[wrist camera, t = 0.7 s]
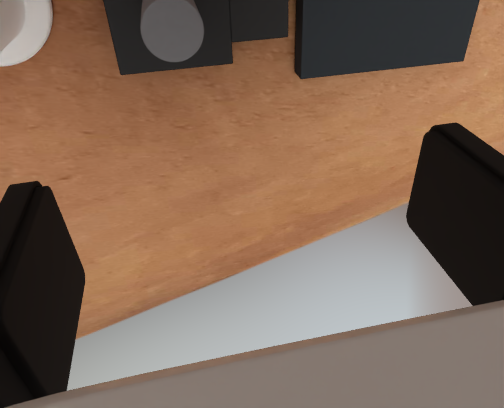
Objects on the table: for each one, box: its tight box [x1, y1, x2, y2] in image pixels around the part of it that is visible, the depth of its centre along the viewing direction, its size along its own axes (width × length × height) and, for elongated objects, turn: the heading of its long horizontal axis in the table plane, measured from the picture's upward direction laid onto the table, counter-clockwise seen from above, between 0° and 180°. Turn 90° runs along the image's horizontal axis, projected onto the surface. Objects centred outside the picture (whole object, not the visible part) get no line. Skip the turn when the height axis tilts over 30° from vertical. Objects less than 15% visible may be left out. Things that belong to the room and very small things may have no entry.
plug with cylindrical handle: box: [103, 0, 288, 75], centre depth 23 cm, size 11×7×6 cm, turn 92°
